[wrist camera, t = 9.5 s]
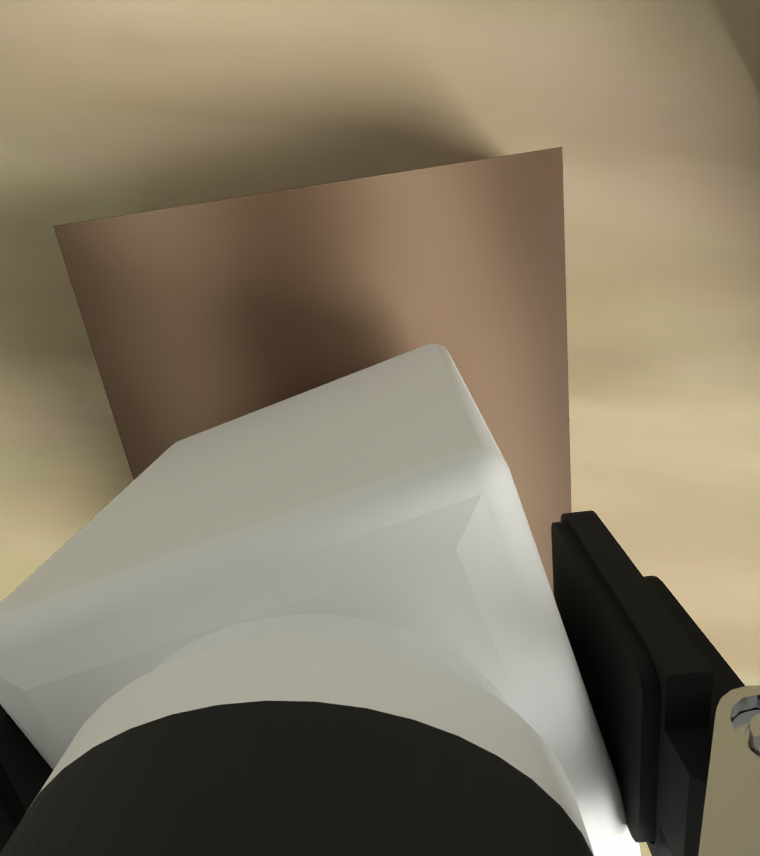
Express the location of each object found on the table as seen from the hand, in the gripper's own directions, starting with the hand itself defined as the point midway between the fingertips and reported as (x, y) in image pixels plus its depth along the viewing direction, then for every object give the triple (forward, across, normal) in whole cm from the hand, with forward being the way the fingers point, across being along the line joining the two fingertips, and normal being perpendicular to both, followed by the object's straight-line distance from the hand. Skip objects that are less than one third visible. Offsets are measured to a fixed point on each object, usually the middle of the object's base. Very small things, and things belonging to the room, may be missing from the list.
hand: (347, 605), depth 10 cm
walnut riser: (+9, 0, 0) cm, 9 cm away
